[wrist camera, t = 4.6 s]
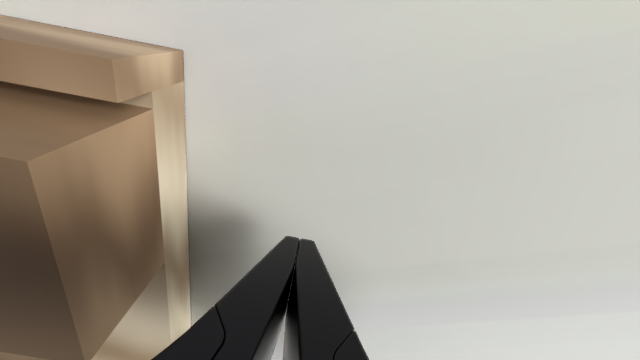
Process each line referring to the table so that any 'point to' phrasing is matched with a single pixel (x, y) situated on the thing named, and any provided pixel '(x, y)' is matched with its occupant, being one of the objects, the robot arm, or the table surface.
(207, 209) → the table surface
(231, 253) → the table surface
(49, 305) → the block
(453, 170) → the table surface
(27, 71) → the box
